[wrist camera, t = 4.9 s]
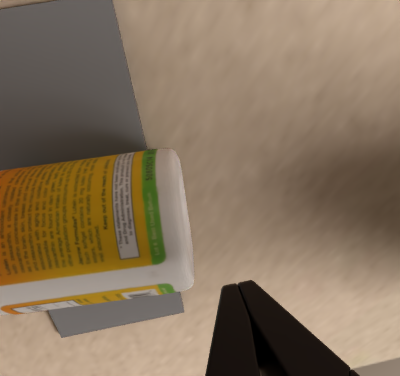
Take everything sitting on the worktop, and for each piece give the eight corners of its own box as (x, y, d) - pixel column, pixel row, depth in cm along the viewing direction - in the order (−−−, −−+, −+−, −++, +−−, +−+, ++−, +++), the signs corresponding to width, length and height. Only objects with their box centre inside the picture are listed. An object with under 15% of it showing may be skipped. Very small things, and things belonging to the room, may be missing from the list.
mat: (110, -8, 12) (109, -8, 12) (183, 308, 20) (184, 312, 19) (-88, 24, 12) (-94, 24, 12) (62, 333, 19) (61, 337, 19)
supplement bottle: (174, 121, 13) (-68, 154, 13) (179, 205, 9) (-181, 254, 9) (190, 222, 17) (-6, 249, 17) (200, 320, 12) (-67, 357, 12)
